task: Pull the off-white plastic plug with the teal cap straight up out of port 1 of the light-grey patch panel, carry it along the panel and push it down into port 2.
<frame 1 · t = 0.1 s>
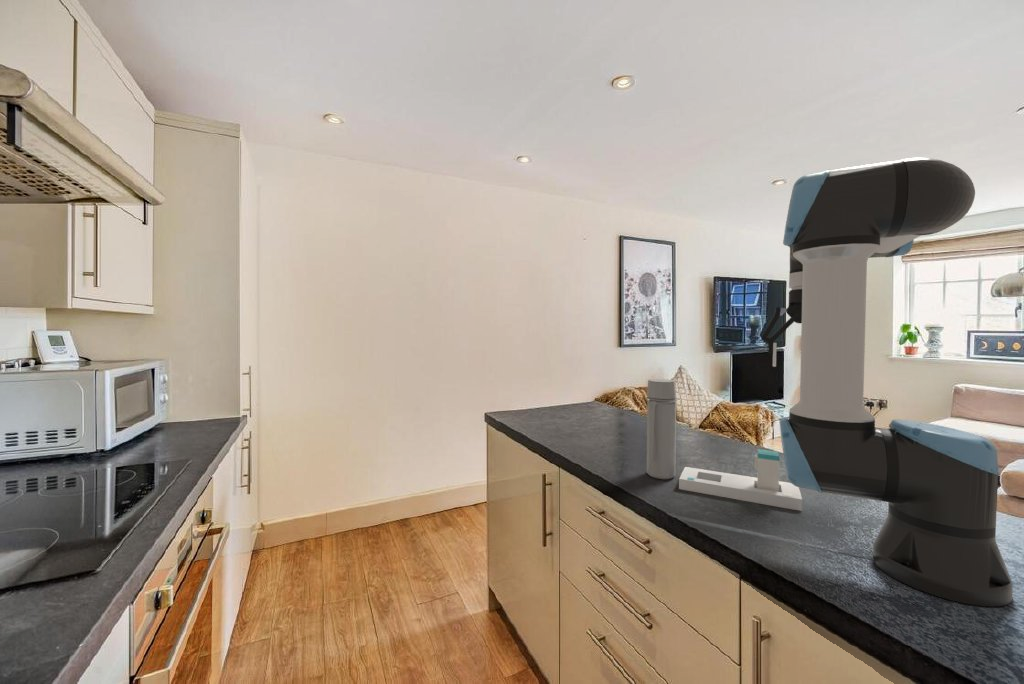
hand: (803, 367, 113), 28 cm above the worktop, fingers open, 13 cm apart
plug: (767, 496, 94), point 1 cm above the worktop, touching panel
water bottle: (659, 477, 109), on the worktop
panel: (737, 494, 97), on the worktop
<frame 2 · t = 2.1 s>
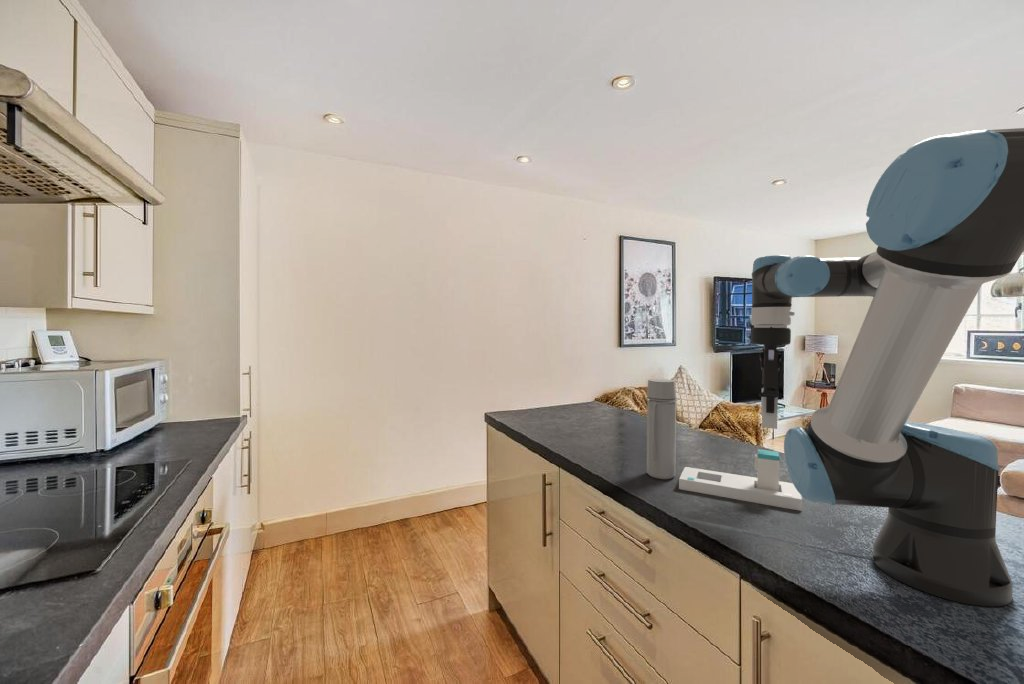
hand: (768, 421, 94), 18 cm above the worktop, fingers open, 13 cm apart
nothing on the worktop moved.
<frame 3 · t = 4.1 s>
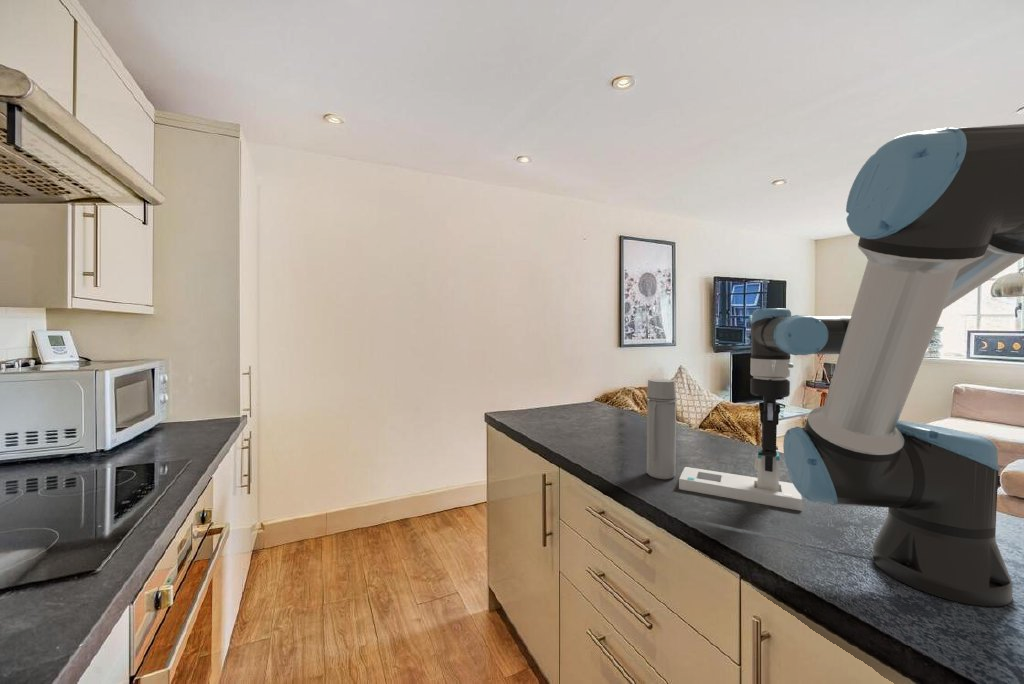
hand: (767, 481, 94), 4 cm above the worktop, fingers closed on plug, 4 cm apart
plug: (767, 496, 94), point 1 cm above the worktop, touching gripper, panel
everything else where it was.
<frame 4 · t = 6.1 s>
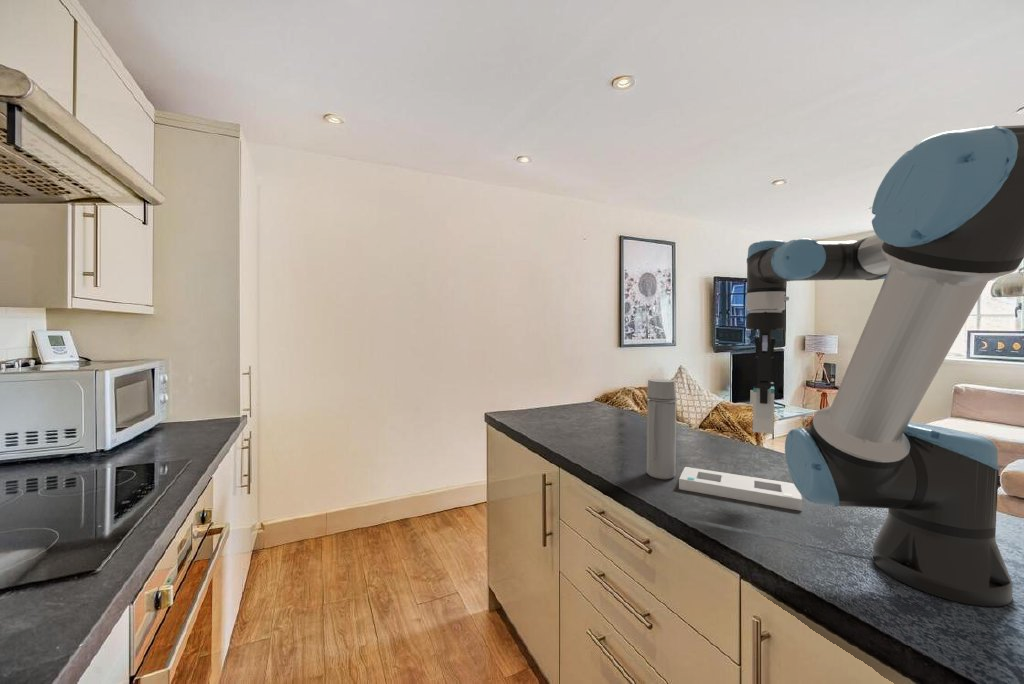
hand: (763, 415, 95), 19 cm above the worktop, fingers closed on plug, 4 cm apart
plug: (762, 431, 95), point 15 cm above the worktop, touching gripper
everything else where it was.
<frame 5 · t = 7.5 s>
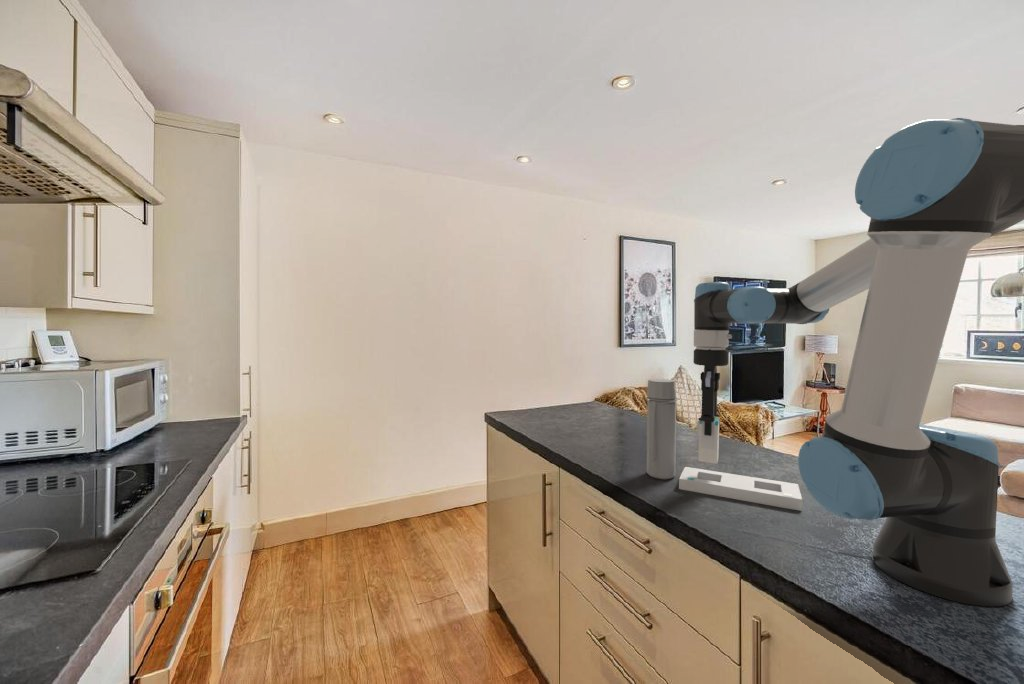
hand: (708, 445, 100), 10 cm above the worktop, fingers closed on plug, 4 cm apart
plug: (708, 460, 100), point 7 cm above the worktop, touching gripper
everything else where it was.
when the fingers open (6 cm above the worktop, at t = 8.6 s): plug drops 2 cm, resting on panel.
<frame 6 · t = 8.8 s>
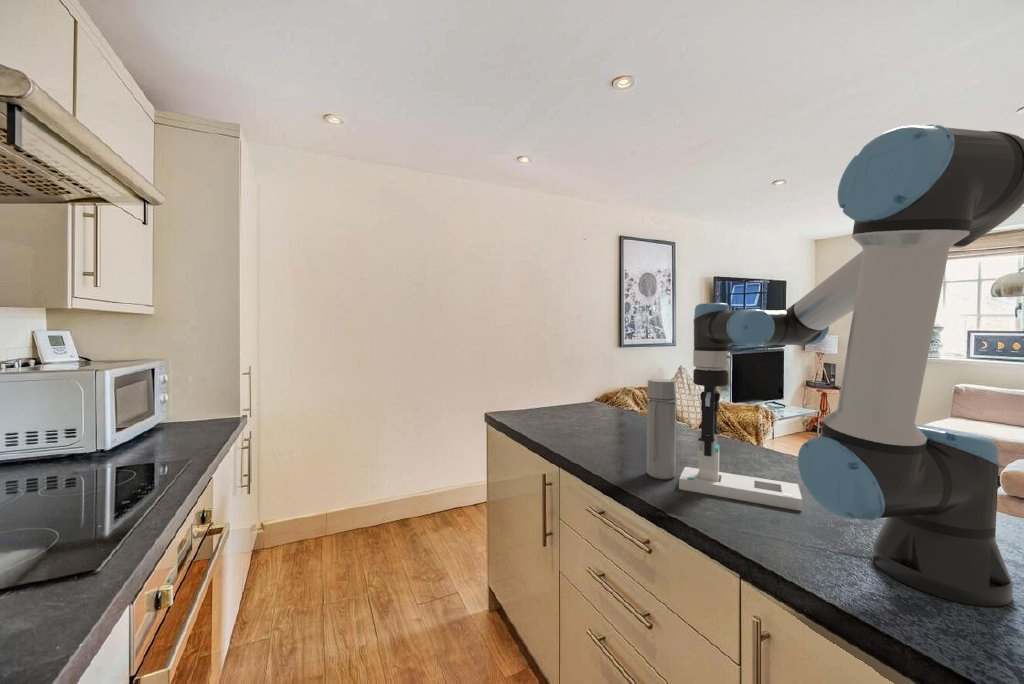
hand: (709, 464, 100), 6 cm above the worktop, fingers open, 6 cm apart
plug: (708, 486, 100), point 1 cm above the worktop, touching panel
everything else where it was.
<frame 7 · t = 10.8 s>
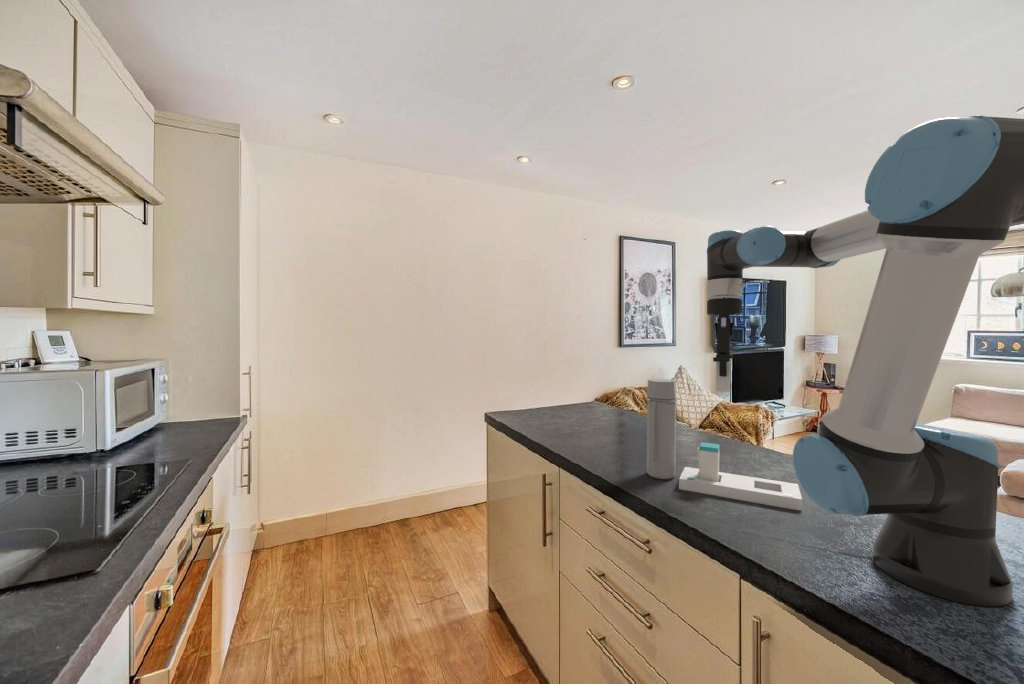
hand: (723, 387, 100), 24 cm above the worktop, fingers open, 13 cm apart
nothing on the worktop moved.
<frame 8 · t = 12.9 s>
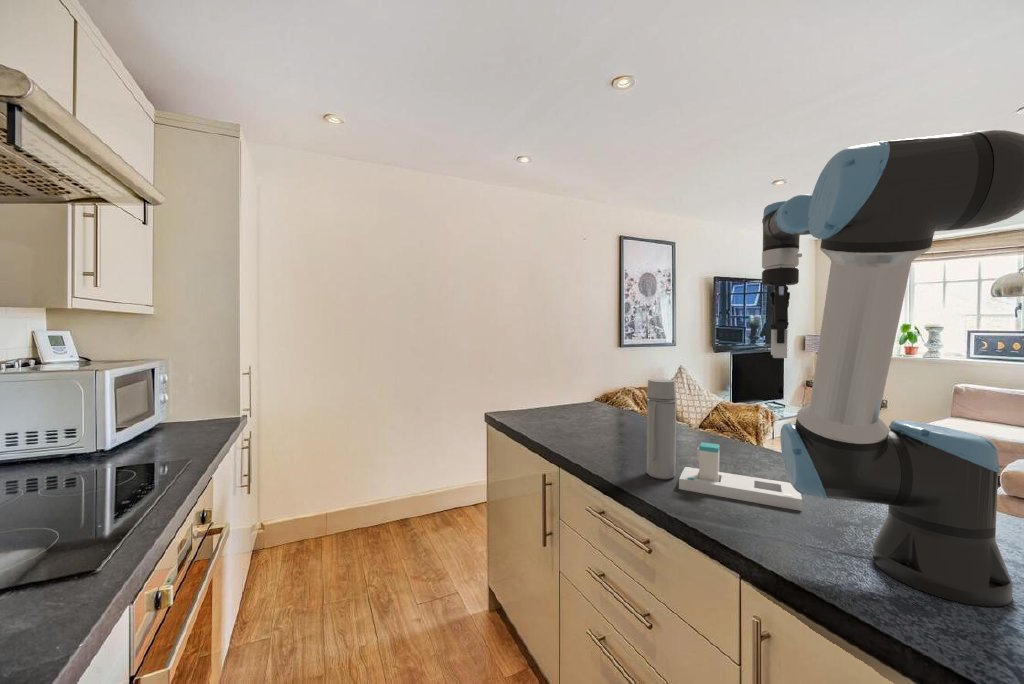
hand: (778, 356, 102), 32 cm above the worktop, fingers open, 13 cm apart
nothing on the worktop moved.
at the end: plug 0.0 cm from the target spot on the panel, point 0.6 cm above the panel's base; plug tilted 0°; the gripper is holding nothing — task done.
